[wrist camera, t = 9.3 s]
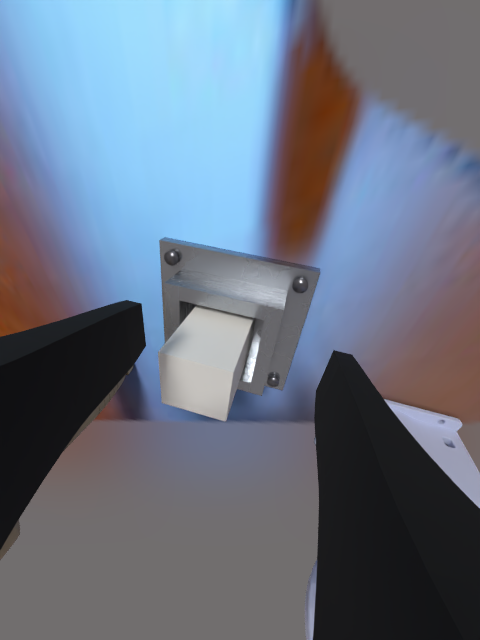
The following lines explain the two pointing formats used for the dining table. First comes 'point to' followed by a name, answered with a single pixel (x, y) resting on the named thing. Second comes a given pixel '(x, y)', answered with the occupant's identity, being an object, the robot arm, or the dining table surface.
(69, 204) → the dining table surface
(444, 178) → the dining table surface
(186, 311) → the bracket
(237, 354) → the block
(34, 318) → the dining table surface
